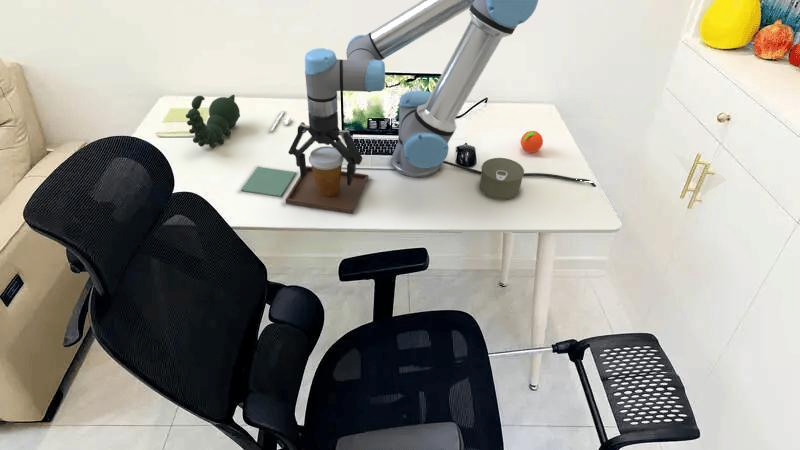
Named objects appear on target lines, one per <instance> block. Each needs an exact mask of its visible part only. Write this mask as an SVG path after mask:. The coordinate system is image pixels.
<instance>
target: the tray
mask: <svg viewBox="0 0 800 450" xmlns="http://www.w3.org/2000/svg"><path fill="white" fill-rule="evenodd" d="M352 176H353V180H352V182H351V185H350V186H349V185H347V171H345V170H341V179H340V190H339V192H338V193H337V194H336V195H333V196H322V195H320V194H319V193H318V191H317V187H316V182H315V178H314V174H313V170H312V166H309V165H306V175H305V176H304V178H301V175H300V174H299V177H298V178H297V180H296V182H295V183H294V185H293V186H292V188H291V190H290V191H289V193H288V195H287V196H286V197H285V204H286V205H292V206H298V207H305V208H311V209H317V210H324V211H330V212H337V213H343V214H344V213H345V214H350V215H351V214H352V215H353V214H354V212H355V211H356V208H357V205H358V204H359V201H360V199H361V197H362V194H363V192H364V190H365V188H366V185H367V184H368V181H369V174H366V173H359V172H355V173H354V175H352Z"/></svg>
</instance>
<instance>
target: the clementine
mask: <svg viewBox="0 0 800 450" xmlns="http://www.w3.org/2000/svg"><path fill="white" fill-rule="evenodd" d="M520 145H521V148H522V150H524V151H525V152H526V153H529V154H534V153H536V152H538V151H539V150H541V148H542V147H543V145H544V139H543V136H542V134H541V133H540V132H538V131H535V130H529V131H527V132H525V133H524V134H523V135H522V136H521V138H520Z"/></svg>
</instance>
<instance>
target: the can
mask: <svg viewBox="0 0 800 450" xmlns="http://www.w3.org/2000/svg"><path fill="white" fill-rule="evenodd" d="M481 171H482V173H481V174H480V181H479V190H480V192H481V193H482V194H483V195H484V196H486V197H487V198H489V199H492V200H496V201H510V200H513V199H515V198H517V197H518V195H519V194H520V190H521V187H522V181H523V177H524V176H523V175H524V173H525V169H524V167H523V166H522V165H521V164H520V163H519V162H518V161H515V160H513V159H510V158H505V157H493V158H489V159H487V160H485V161H484V162H483V163H482V165H481Z"/></svg>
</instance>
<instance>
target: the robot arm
mask: <svg viewBox="0 0 800 450" xmlns="http://www.w3.org/2000/svg"><path fill="white" fill-rule="evenodd" d="M538 4H539V0H420V1H419V2H417V3H416V4H414V5H412V6H410V7H409V8H407V9H406V10H404V11H402V12H401V13H399V14H398V15H396V16H395V17H393V18H392V19H390V20H388V21H387V22H385V23H383V24H381V25H380V26H378V27H377V28H375V29H374V30H372V31H370V32H369V33H366V34H357V35H354V36H353V37H352V38H351V39H350V40H349V41H348V43H347V47H346V54H345V55H346V59H340V58H339V59H338V58H337V55H336V53H335V51H333V50H331V49H326V48H322V47H321V48H320V47H319V48H314V49H313V48H312V49H311V50H309V51H308V52H306V54H305V56H304V76H305V86H306V99H307V111H308V112H307V114H308V125H307V124H306V123H305V122H303V121H302V122H300V124H299V125H298V126H297V133H296V135H295V138H294V140H293V141H292V144H291V146H290V148H289V150H288V154H289V155H291V156H292V155H294V156H295V163H296V166H297V167H299V173H300V174H299V176H300V175H301V178H304V176H305V175H306V166H307V162H306V153H305V151H307V150H308V149H309V148H310V147H311V146H312V145H313V144H314V143H317V144H319V145H325V146H332V147H334V148H336V149H337V150H338V152H339V153H340V154H341V155H342V156H343V157H344V160H345V161H346V162H347V164H346V172H347V185H349V186H350V185H351V182H352V180H353V176H352V175H354V173H356V171H357V166H359V165H361V163H362V161H363V156H362V154H361V153H360V150H359V148H358V146H357V145H356V143H355V141H354V139H353V138H352V137H353V136H352V134H351V129H350V128H346V129H344V130H343V129H342V130H341V129H340V128H339V112H338V92H363V93H364V92H365V93H366V92H367V93H371V92H382V91H383V90H384V89H385V86H386V65H385V64H386V63H385V61H384V60H385V59H386V58H388V57H389V56H391V55H393V54H395V53H396V52H397V51H399V50H401V49H403V48H405V47H406V46H408V45H410V44H411V43H413V42H415V41H416V40H418V39H420V38H422V37H424V36H425V35H426V34H428V33H429V34H430V32H432V31H434V30H435V29H437V28H439V27H440V26H443V25H444V24H446V23H447V22H449V21H450V20H453V19H454V18H455V17H458V16H459V15H461V14H463V13H464V12H466V11H468V13H469V16H470V20H469V22H468V25H467V27H466V28H465V29H464V33H463V34H462V36H461V38H460V39H459V41H458V43H457V45H456V47H455V48H454V51H453V53H452V55H451V56H450V57H449V60H448V62H447V64H446V65H445V68H444V69H443V71H442V73H441V75H440V77H439V79H438V80H437V83H436V85H435V86H434V87H433V90H432V91H427V90H411V91H408V92H404V93H402V94H401V95H400V97H399V103H398V108H399V109H398V112H399V113H398V139H397V140H398V141H397V143H396V145H395V148H394V150H393V153H392V156H391V166H392V168H393V169H394V170H395V171H396V172H397V173H398V174H401V175H403V176H406V177H411V178H426V177H429V176H430V177H431V176H433V175H435V174H436V173H437V172H439V171H440V169H441V168H442V164H445V165H448V166H451V167H455V168H457V169H461V170H465V171H468V172H472V173H476V174H479V175H481V173H482V170H478V169H474V168H471V167H467V166H463V165H461V164H457V163H454V162H451V161H447V160H446V159H447V158H448V154H449V149H450V147H449V141H450V140H451V138H452V137H453V135H454V133H455V132H456V130H457V124H456V118H457V116H458V115H459V113H460V111H461V110H462V108H463V106H464V104H465V103H466V101H467V99H468V98H469V96H470V94H471V93H472V91H473V89H474V87H475V86H476V84H477V82H478V81H479V79H480V77H481V76H482V74H483V72H484V70H485V69H486V67H487V65H488V63H489V62H490V60H491V59H492V57H493V54H494V53H495V51H496V50H497V47H498V46H499V45H500V43H501V41H502V39H503V38H506V37H509V36H512V35H513V33H514V31H515V30H516V28H517V27H518V26H519V25H521V24H524V23H525V22H526V21H528V20H529V19H530V18H531V16H533V14H534V13H535V11H536V9H537V7H538ZM307 132H308V133H309V135H310V137H309V138H308V139H307V140H306V141H305V142H304V143H303V144H302V145H301V146H300V147H299V148H298V145H299V144H300V142H301V140H302V138H303V135H304V134H306V133H307ZM339 136H340V137H341V138H340V137H339ZM342 140H343V141H344V143H345V144H344V143H343V142H342ZM523 177H547V178H548V177H549V178H556V179H560V180H561V179H562V180H565V181H571V182H581V183H582V182H583V183H585V182H584V181H591V180H590V179H587V178H575V177H570V176H564V175H559V174H554V173H541V172H524V175H523ZM576 179H577V180H576ZM580 180H582V181H580ZM587 184H590V185H591V186H592V187H594V188H596V187H597V185H596V184H595V182H593V183H589V182H587Z"/></svg>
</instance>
